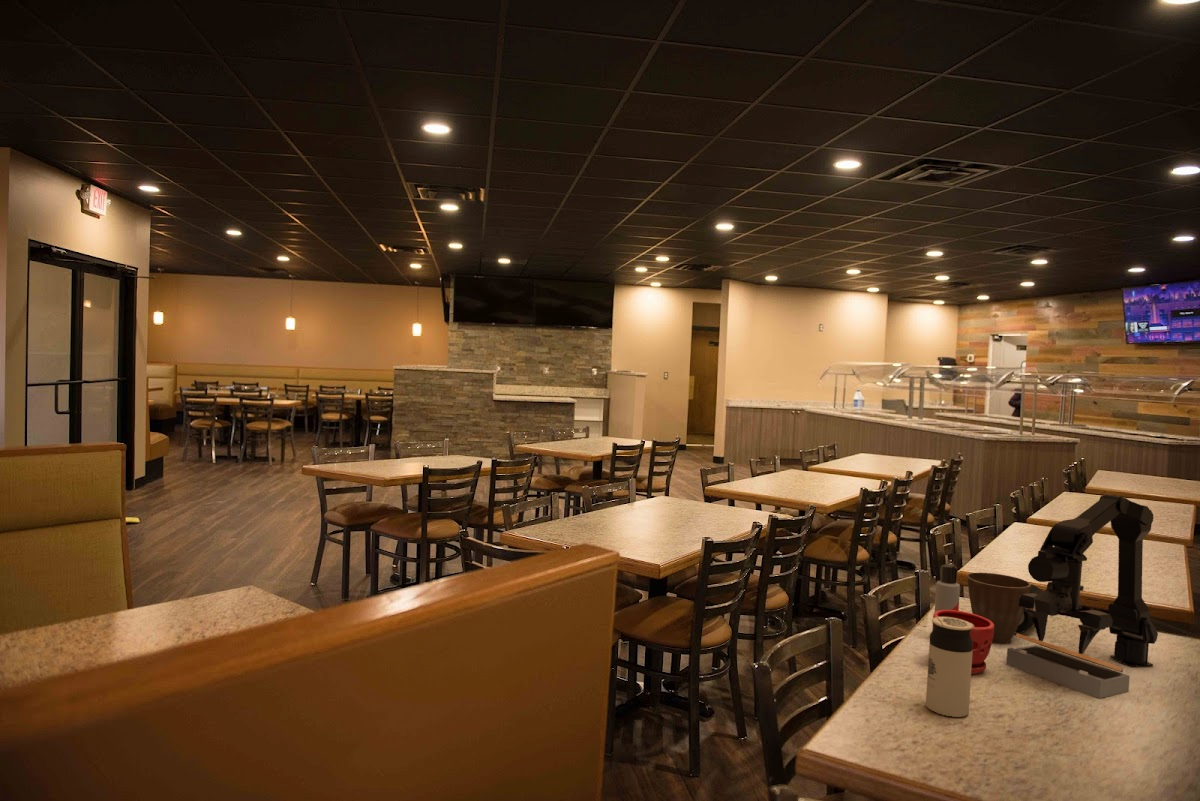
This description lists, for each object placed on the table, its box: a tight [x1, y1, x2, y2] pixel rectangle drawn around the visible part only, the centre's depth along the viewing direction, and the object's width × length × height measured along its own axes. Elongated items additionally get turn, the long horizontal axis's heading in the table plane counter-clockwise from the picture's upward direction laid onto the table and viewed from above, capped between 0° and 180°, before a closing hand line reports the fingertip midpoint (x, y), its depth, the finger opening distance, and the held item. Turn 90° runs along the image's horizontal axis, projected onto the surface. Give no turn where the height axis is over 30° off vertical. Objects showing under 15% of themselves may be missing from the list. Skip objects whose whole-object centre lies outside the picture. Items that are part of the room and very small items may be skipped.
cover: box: [1015, 633, 1124, 673], centre depth 180 cm, size 10×19×1 cm, turn 28°
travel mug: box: [925, 617, 974, 718], centre depth 158 cm, size 8×8×18 cm
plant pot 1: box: [931, 610, 994, 675], centre depth 183 cm, size 13×13×12 cm
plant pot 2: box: [967, 572, 1032, 645], centre depth 206 cm, size 15×15×16 cm
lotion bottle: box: [933, 563, 961, 614], centre depth 203 cm, size 6×6×20 cm
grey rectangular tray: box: [1005, 644, 1131, 699], centre depth 180 cm, size 11×22×5 cm, turn 28°
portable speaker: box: [1015, 583, 1044, 634], centre depth 222 cm, size 26×10×10 cm, turn 141°
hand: (1060, 647), depth 179 cm, fingers open, 9 cm apart
